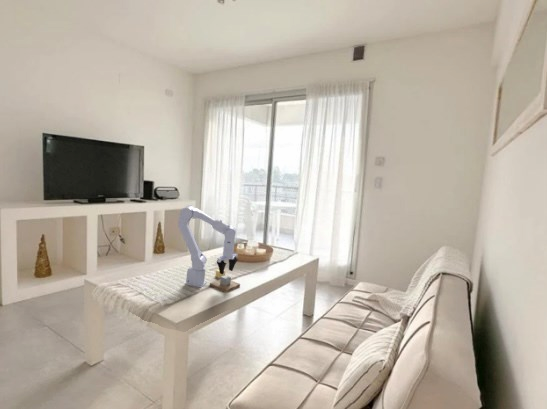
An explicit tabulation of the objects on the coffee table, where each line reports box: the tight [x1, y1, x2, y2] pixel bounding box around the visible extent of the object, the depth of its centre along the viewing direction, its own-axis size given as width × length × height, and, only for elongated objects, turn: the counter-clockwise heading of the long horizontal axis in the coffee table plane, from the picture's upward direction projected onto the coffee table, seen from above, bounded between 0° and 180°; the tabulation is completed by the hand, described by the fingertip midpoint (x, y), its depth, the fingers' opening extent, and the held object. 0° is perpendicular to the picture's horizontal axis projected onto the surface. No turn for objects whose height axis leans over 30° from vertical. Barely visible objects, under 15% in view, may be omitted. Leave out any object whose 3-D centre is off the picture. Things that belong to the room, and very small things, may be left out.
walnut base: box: [209, 278, 241, 293], centre depth 170 cm, size 12×12×2 cm
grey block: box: [220, 274, 232, 286], centre depth 170 cm, size 4×4×4 cm
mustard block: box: [215, 268, 226, 279], centre depth 183 cm, size 4×4×4 cm
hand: (226, 272), depth 169 cm, fingers open, 7 cm apart
